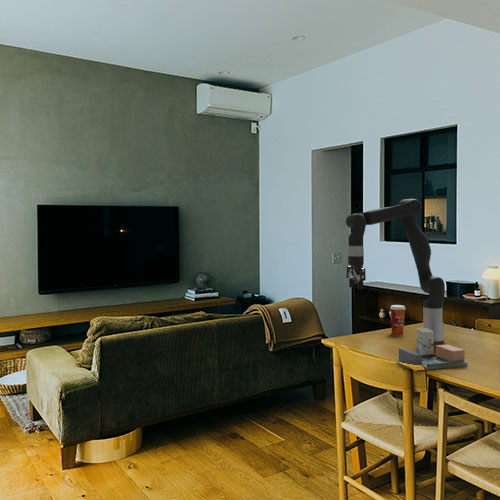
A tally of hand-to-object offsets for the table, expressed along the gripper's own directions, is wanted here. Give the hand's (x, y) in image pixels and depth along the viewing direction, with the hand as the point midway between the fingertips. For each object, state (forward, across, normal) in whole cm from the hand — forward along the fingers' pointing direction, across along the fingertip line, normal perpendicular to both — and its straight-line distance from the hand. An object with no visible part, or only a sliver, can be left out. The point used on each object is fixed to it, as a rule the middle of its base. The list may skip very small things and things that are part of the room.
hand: (355, 288), depth 251 cm
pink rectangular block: (+28, -37, -26) cm, 53 cm away
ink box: (+30, -23, -23) cm, 44 cm away
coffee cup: (+30, +22, -39) cm, 54 cm away
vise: (+29, -37, -16) cm, 50 cm away
